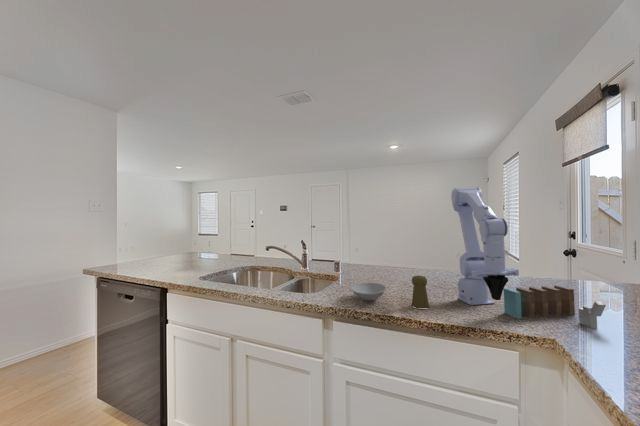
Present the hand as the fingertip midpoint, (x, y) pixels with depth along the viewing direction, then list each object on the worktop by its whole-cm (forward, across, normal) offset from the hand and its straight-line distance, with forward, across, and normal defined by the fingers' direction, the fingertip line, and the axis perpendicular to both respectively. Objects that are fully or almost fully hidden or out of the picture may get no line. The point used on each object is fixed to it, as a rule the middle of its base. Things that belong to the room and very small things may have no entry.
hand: (496, 299), depth 86 cm
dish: (+6, -35, +24) cm, 43 cm away
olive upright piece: (+6, -19, +13) cm, 24 cm away
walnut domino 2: (+5, +14, 0) cm, 15 cm away
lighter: (+6, +19, -12) cm, 23 cm away
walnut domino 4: (+5, +23, 0) cm, 24 cm away
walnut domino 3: (+5, +19, 0) cm, 20 cm away
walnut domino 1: (+5, +10, 0) cm, 11 cm away
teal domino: (+5, +5, 0) cm, 8 cm away
